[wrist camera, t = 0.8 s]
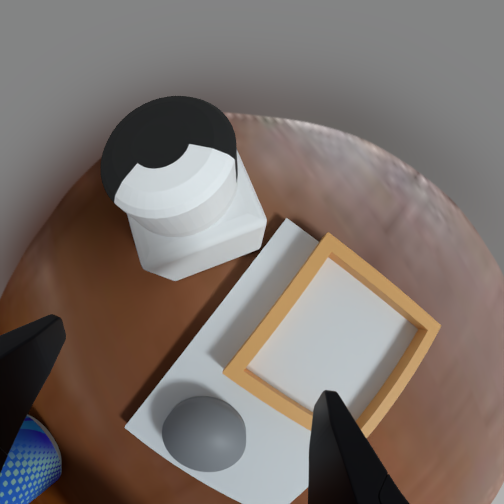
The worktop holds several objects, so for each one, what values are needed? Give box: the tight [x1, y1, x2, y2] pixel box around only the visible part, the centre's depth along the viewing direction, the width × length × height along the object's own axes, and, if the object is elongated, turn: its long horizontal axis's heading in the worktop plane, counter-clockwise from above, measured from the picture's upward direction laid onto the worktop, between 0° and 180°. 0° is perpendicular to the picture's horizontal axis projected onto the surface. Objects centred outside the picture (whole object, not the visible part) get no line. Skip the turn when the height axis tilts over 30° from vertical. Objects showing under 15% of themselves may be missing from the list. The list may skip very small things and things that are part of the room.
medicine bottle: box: [101, 96, 267, 281], centre depth 17 cm, size 7×7×12 cm
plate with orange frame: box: [125, 218, 441, 504], centre depth 19 cm, size 22×15×2 cm
